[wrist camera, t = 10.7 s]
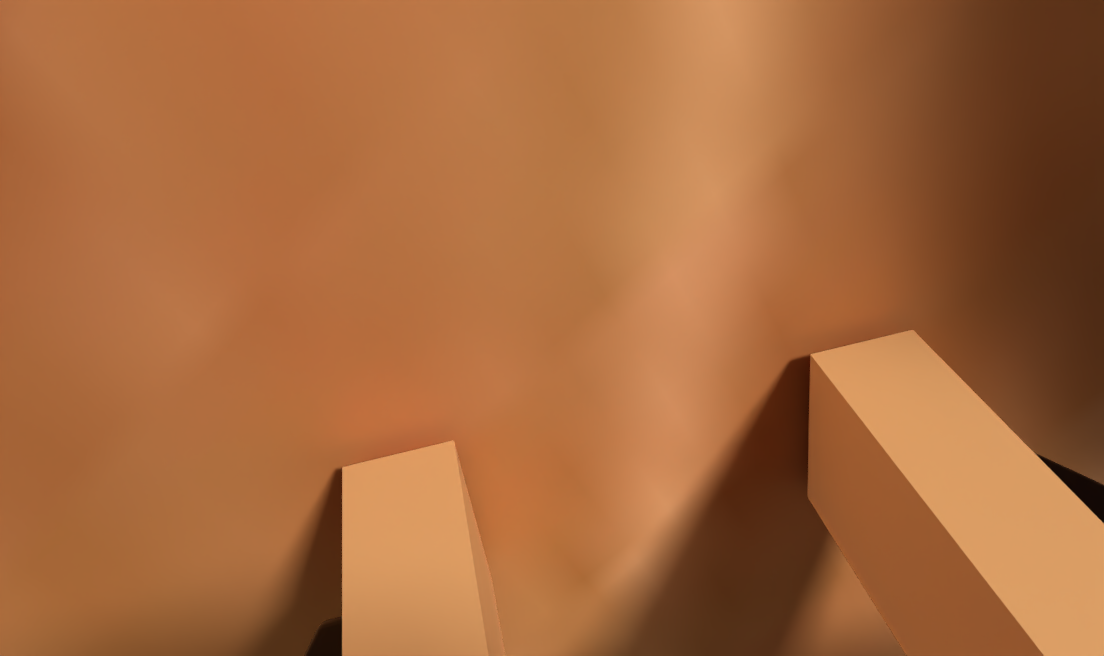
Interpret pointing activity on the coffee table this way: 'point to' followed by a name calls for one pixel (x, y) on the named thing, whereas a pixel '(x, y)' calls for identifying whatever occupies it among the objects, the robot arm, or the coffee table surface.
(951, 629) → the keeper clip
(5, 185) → the coffee table surface
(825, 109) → the coffee table surface
